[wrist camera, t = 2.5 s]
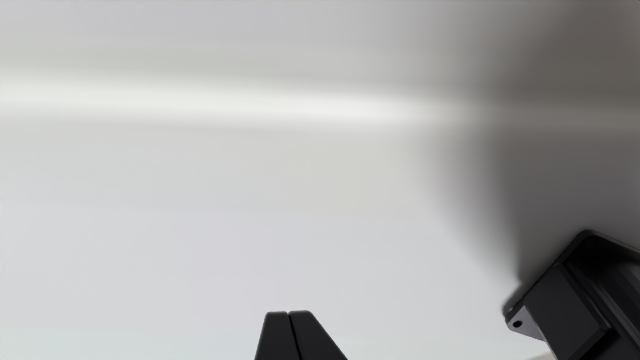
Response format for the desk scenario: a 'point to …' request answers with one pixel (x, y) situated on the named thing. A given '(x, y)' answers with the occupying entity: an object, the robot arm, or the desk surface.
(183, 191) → the desk surface
